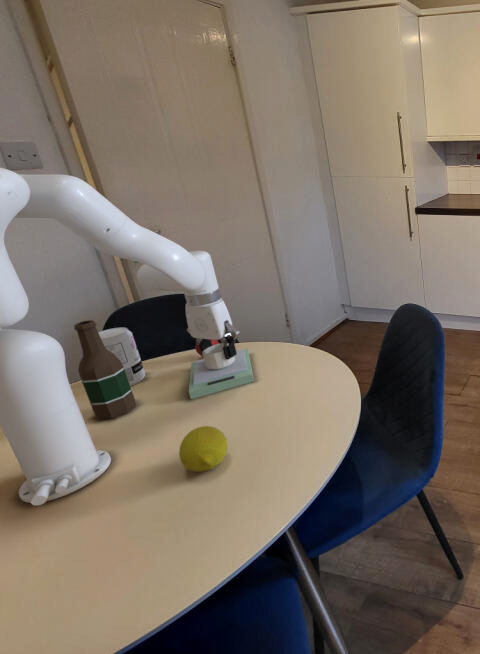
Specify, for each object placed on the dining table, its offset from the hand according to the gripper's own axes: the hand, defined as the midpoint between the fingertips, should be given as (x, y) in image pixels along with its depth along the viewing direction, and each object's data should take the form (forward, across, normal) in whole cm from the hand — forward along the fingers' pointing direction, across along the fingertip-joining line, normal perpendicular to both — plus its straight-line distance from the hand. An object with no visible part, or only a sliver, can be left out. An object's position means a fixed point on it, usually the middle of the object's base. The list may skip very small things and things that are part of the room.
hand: (219, 355), depth 116 cm
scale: (+6, 0, -1) cm, 6 cm away
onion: (+6, -12, +7) cm, 16 cm away
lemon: (+6, +26, -31) cm, 41 cm away
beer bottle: (+6, -12, -20) cm, 24 cm away
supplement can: (+6, -24, -8) cm, 26 cm away
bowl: (+3, 0, 0) cm, 3 cm away
